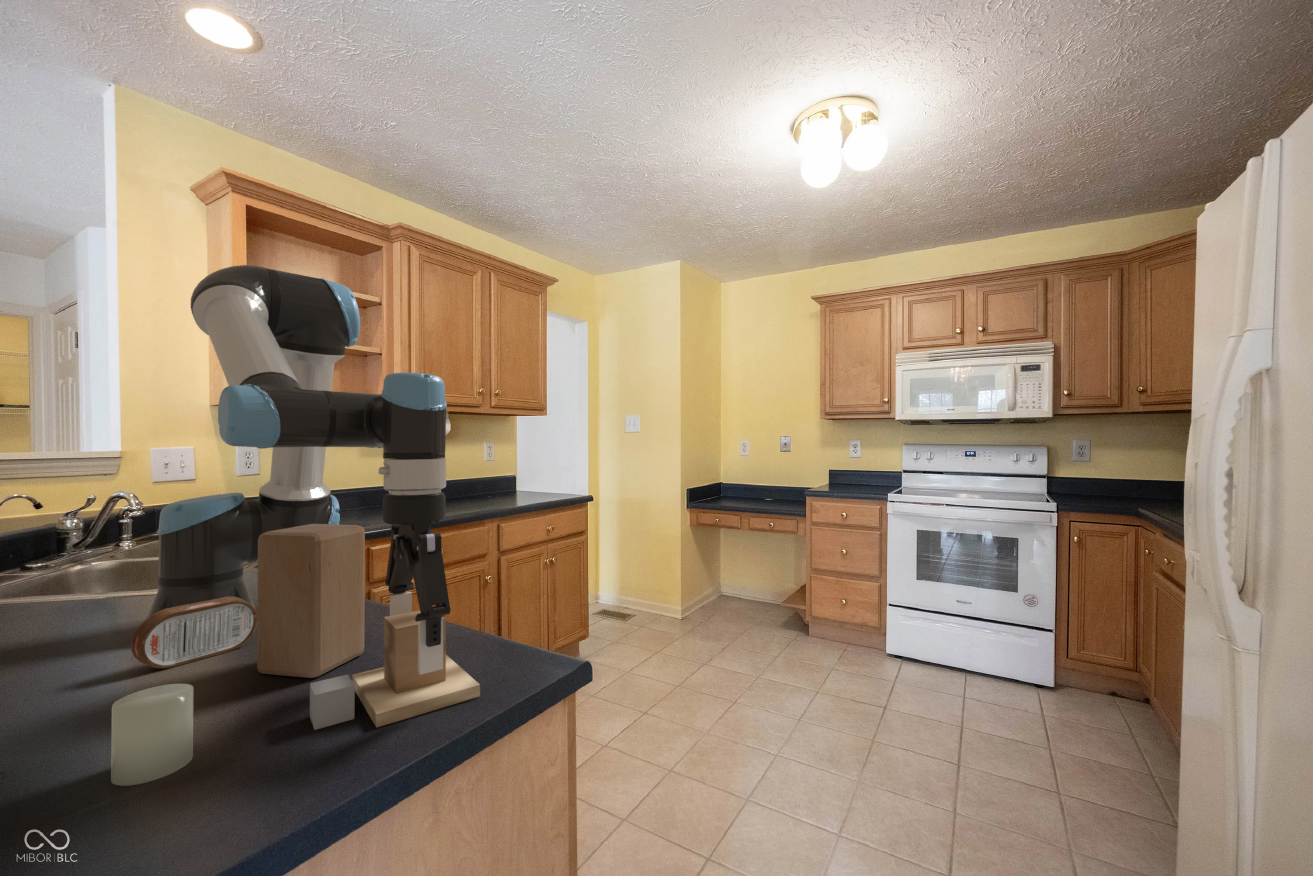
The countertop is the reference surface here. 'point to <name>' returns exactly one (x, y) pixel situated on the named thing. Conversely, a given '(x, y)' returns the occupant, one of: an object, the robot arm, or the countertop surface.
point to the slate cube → (332, 701)
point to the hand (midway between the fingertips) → (414, 654)
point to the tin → (194, 632)
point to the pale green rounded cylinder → (151, 734)
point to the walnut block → (407, 654)
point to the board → (412, 694)
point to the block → (310, 599)
